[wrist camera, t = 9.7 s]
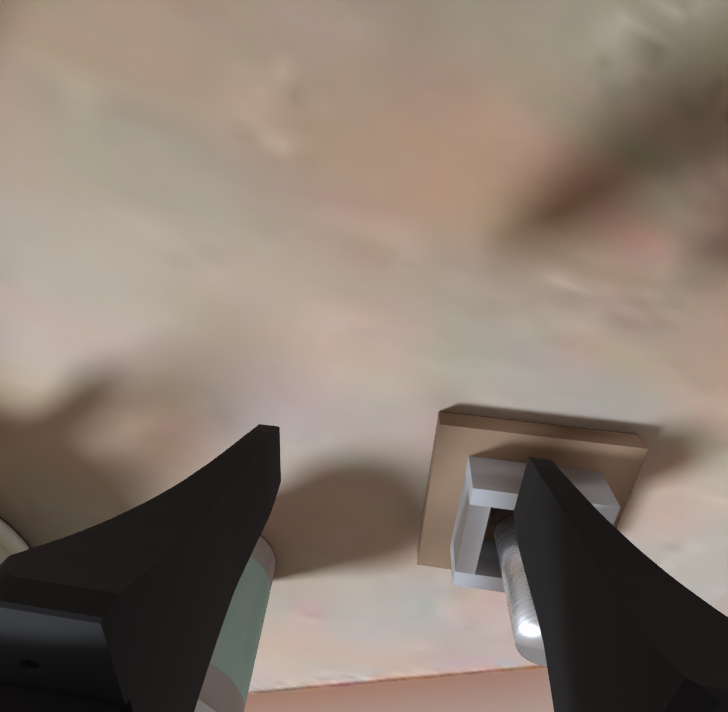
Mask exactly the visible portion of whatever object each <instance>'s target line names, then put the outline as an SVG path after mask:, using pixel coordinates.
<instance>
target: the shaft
mask: <svg viewBox="0 0 728 712" xmlns="http://www.w3.org/2000/svg"><path fill="white" fill-rule="evenodd" d="M490 517H491V522H492V528H493V533H494V538H495V543H496V548H497V553H498V558H499V563H500V568H501V574H502V579H503V584H504V589H505V594H506V599H507V604H508V609H509V615H510V620H511V625H512V630H513V635H514V640H515V645H516V648H517V650H518V652H519V653H520V654H521V655H522V656H523V657H524V658H525V659H527V660H528V661H530V662H533V663H535V664H538V665H542V666H547V662H546V656H545V650H544V644H543V640H542V635H541V631H540V626H539V622H538V619H537V615H536V611H535V608H534V604H533V600H532V597H531V593H530V589H529V585H528V582H527V578H526V574H525V571H524V567H523V563H522V559H521V555H520V551H519V548H518V542H517V535H516V528H515V519H514V510H507V509H500V508H492V507H491V509H490Z"/></svg>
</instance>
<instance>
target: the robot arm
mask: <svg viewBox="0 0 728 712" xmlns="http://www.w3.org/2000/svg"><path fill="white" fill-rule="evenodd" d="M280 482H281V470H280V433H279V427H277V426H269V425H260V424H259V425H258V426H257V427H255V428H254V429H253V430H251V431H250V432H249V433H247V434H246V435H245V436H244V437H242V438H241V439H240V440H239V441H237V442H236V443H235V444H234V445H232V446H231V447H230V448H228V449H227V450H226V451H225V452H223V453H222V454H221V455H219V456H218V457H217V458H215V459H214V460H213V461H211V462H210V463H209V464H207V465H206V466H204V467H203V468H201V469H200V470H198V471H197V472H195V473H194V474H192V475H191V476H189V477H188V478H187V479H185V480H184V481H182V482H180V483H179V484H177V485H175V486H174V487H172V488H170V489H169V490H167V491H165V492H164V493H162V494H160V495H158V496H156V497H155V498H153V499H151V500H149V501H147V502H145V503H143V504H141V505H139V506H137V507H135V508H133V509H131V510H129V511H127V512H125V513H122V514H120V515H118V516H116V517H114V518H112V519H110V520H107V521H105V522H103V523H100V524H98V525H96V526H93V527H91V528H88V529H86V530H83V531H80V532H78V533H75V534H73V535H70V536H67V537H65V538H62V539H59V540H56V541H53V542H50V543H47V544H44V545H41V546H38V547H35V548H31V549H28V550H25V551H22V552H19V553H16V554H12V555H10V556H8V557H7V558H6V559H5V560H4V561H3V562H2V563H1V564H0V712H194V711H195V708H196V705H197V701H198V698H199V695H200V692H201V689H202V686H203V682H204V679H205V676H206V673H207V670H208V667H209V664H210V661H211V658H212V655H213V652H214V649H215V646H216V643H217V640H218V637H219V634H220V631H221V628H222V625H223V622H224V619H225V617H226V614H227V611H228V608H229V605H230V602H231V600H232V597H233V594H234V592H235V589H236V587H237V585H238V582H239V580H240V578H241V575H242V573H243V571H244V569H245V567H246V565H247V563H248V561H249V558H250V556H251V554H252V552H253V550H254V548H255V546H256V543H257V541H258V539H259V537H260V535H261V533H262V531H263V528H264V526H265V524H266V522H267V520H268V517H269V515H270V513H271V510H272V507H273V504H274V501H275V498H276V495H277V492H278V489H279V485H280ZM514 519H515V528H516V535H517V542H518V548H519V551H520V555H521V559H522V563H523V567H524V571H525V574H526V578H527V582H528V585H529V589H530V593H531V597H532V600H533V604H534V608H535V611H536V615H537V619H538V622H539V626H540V631H541V635H542V640H543V644H544V650H545V656H546V662H547V668H548V674H549V680H550V686H551V693H552V699H553V706H554V712H728V617H727V616H725V615H723V614H722V613H721V612H719V611H718V610H716V609H715V608H713V607H712V606H711V605H709V604H708V603H706V602H705V601H704V600H702V599H701V598H700V597H698V596H697V595H695V594H694V593H693V592H691V591H690V590H688V589H687V588H686V587H684V586H683V585H682V584H680V583H679V582H678V581H677V580H675V579H674V578H673V577H671V576H670V575H669V574H668V573H666V572H665V571H664V570H663V569H661V568H660V567H659V566H658V565H657V564H655V563H654V562H653V561H652V560H651V559H649V558H648V557H647V556H646V555H645V554H643V553H642V552H641V551H640V550H639V549H638V548H637V547H635V546H634V545H633V544H632V543H631V542H630V541H629V540H628V539H627V538H626V537H625V536H624V535H622V534H621V533H620V532H619V531H618V530H617V529H616V528H615V527H614V526H613V525H612V524H611V523H610V522H609V521H608V520H607V519H606V518H605V517H604V516H603V515H602V514H601V513H600V512H599V511H598V510H597V509H596V508H595V507H594V506H593V505H592V504H591V503H590V502H589V501H588V500H587V498H586V497H585V496H584V495H583V494H582V493H581V492H580V491H579V490H578V489H577V488H576V487H575V485H574V484H573V483H572V482H571V481H570V480H569V479H568V478H567V477H566V476H565V475H564V473H563V472H562V471H561V470H560V469H559V468H558V467H557V466H556V465H555V464H554V463H553V462H552V461H551V460H549V459H541V458H532V457H528V460H527V464H526V468H525V471H524V475H523V479H522V482H521V486H520V490H519V494H518V497H517V501H516V505H515V508H514Z"/></svg>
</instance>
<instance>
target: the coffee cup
mask: <svg viewBox="0 0 728 712" xmlns="http://www.w3.org/2000/svg"><path fill="white" fill-rule="evenodd" d="M275 566H276V560H275V555H274V553H273V551H272V549H271V547H270V546H269V544H268V543H267V542H266V541H265V540H264V539H263V538H262V537H261V536H260V537H259V539H258V541H257V543H256V546H255V548H254V550H253V552H252V554H251V556H250V558H249V561H248V563H247V565H246V567H245V569H244V571H243V573H242V575H241V578H240V580H239V582H238V585H237V587H236V589H235V592H234V594H233V597H232V600H231V602H230V605H229V608H228V611H227V614H226V617H225V619H224V622H223V625H222V628H221V631H220V634H219V637H218V640H217V643H216V646H215V649H214V652H213V655H212V658H211V661H210V664H209V667H208V670H207V673H206V676H205V679H204V682H203V686H202V689H201V692H200V695H199V698H198V701H197V705H196V708H195V711H194V712H244V708H245V703H246V699H247V694H248V690H249V685H250V681H251V676H252V672H253V667H254V663H255V658H256V653H257V649H258V644H259V640H260V635H261V631H262V626H263V622H264V617H265V613H266V608H267V604H268V599H269V594H270V590H271V585H272V580H273V576H274V571H275Z"/></svg>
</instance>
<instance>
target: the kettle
mask: <svg viewBox="0 0 728 712" xmlns="http://www.w3.org/2000/svg"><path fill="white" fill-rule="evenodd" d="M28 549H30V548H29V547H28V545H27V544H26V543H25V542H24V540H23V539H22V538H21V537H20V536H19V535H18V534H17V533H16V532H15V531H14V530H13V529H12V528H11V527H10V526H8V525H7V524H6V523H5V522H4V521H2V520H1V519H0V564H1V563H2V562H3V561H4V560H5V559H6V558H7V557H8V556H10V555H12V554H16V553H19V552H22V551H25V550H28Z"/></svg>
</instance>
